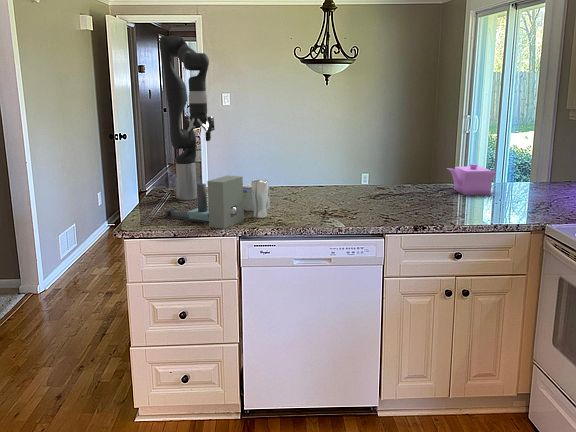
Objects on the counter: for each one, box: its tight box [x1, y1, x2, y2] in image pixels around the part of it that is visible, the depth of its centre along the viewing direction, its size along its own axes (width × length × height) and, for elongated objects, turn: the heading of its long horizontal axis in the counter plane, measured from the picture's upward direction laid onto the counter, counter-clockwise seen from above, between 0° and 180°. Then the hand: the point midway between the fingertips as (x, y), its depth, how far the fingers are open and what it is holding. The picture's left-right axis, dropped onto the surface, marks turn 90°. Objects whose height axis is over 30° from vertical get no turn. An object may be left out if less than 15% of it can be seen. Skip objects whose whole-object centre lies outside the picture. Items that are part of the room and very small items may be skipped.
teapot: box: [446, 163, 497, 196], centre depth 276 cm, size 15×25×14 cm, turn 94°
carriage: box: [187, 183, 209, 221], centre depth 224 cm, size 11×7×14 cm, turn 62°
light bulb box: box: [243, 183, 271, 212], centre depth 243 cm, size 11×7×11 cm, turn 71°
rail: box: [164, 207, 209, 224], centre depth 228 cm, size 25×5×3 cm, turn 62°
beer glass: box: [251, 179, 269, 219], centre depth 230 cm, size 7×7×15 cm
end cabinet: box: [206, 174, 245, 230], centre depth 219 cm, size 8×14×18 cm, turn 152°
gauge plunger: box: [231, 207, 237, 214], centre depth 220 cm, size 10×4×4 cm, turn 62°
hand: (199, 140), depth 239 cm, fingers open, 8 cm apart
